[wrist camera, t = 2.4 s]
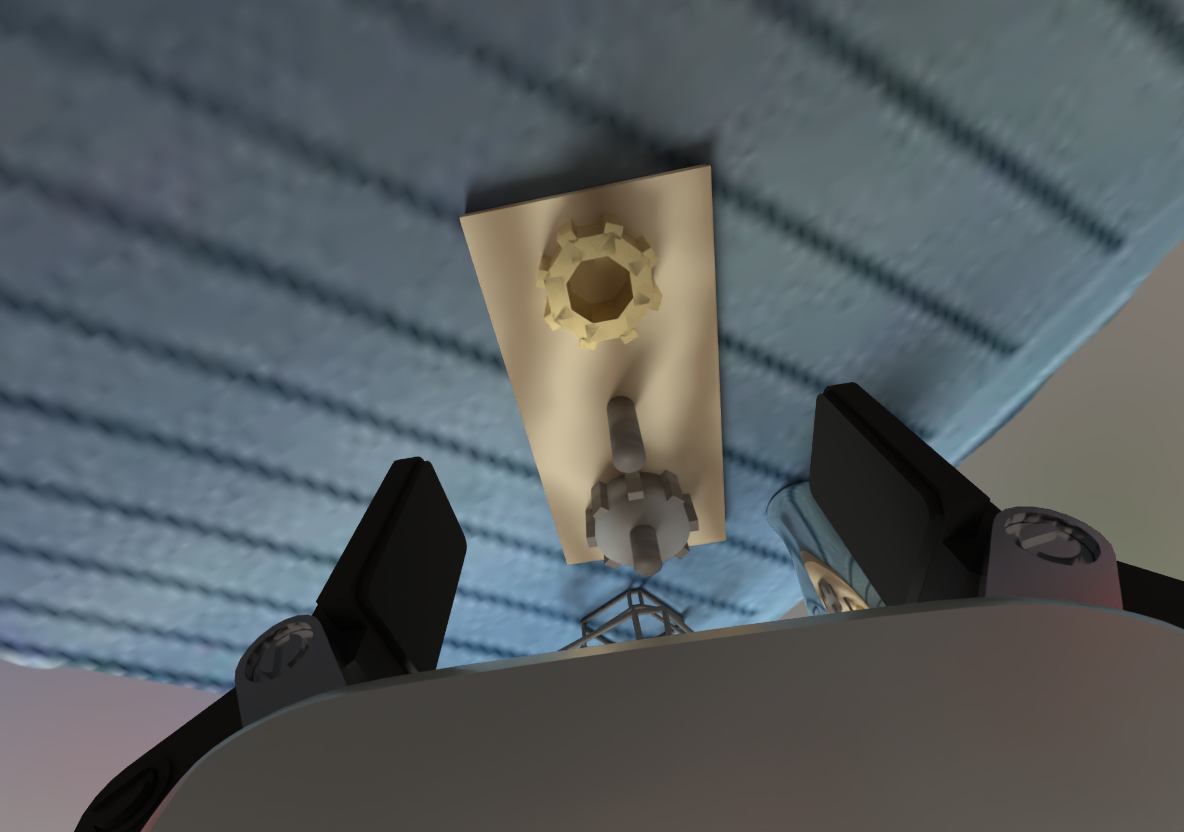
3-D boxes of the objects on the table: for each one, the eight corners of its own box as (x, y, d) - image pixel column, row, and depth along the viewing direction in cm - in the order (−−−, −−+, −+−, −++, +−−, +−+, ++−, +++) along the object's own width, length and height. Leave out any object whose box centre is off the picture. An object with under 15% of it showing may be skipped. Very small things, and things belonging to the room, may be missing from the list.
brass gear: (645, 203, 25) (654, 212, 22) (657, 315, 29) (667, 336, 26) (529, 227, 26) (524, 239, 23) (555, 335, 29) (553, 357, 26)
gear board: (704, 164, 26) (746, 172, 19) (721, 527, 41) (748, 600, 34) (464, 213, 27) (430, 237, 20) (567, 551, 42) (566, 626, 35)
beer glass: (746, 525, 41) (825, 703, 28) (788, 467, 37) (900, 638, 25) (811, 542, 42) (915, 718, 29) (858, 487, 39) (998, 659, 26)
